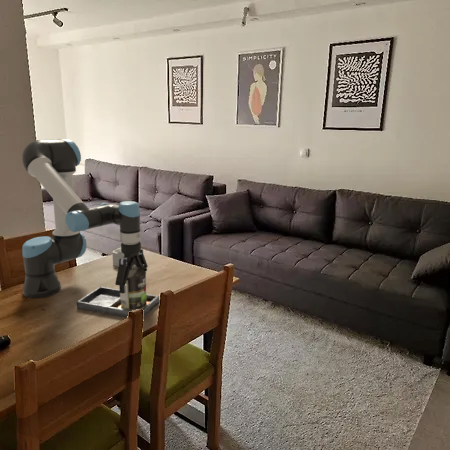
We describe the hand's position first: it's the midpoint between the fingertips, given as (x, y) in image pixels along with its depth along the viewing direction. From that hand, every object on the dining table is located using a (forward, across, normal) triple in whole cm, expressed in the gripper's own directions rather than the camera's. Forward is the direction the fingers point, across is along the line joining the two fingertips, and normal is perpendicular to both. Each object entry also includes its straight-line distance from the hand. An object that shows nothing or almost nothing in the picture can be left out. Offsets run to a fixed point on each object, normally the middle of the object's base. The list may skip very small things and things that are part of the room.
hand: (133, 292), depth 154 cm
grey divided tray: (+7, 0, +7) cm, 10 cm away
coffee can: (+6, 0, 0) cm, 6 cm away
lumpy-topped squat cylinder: (+7, +42, +29) cm, 52 cm away
